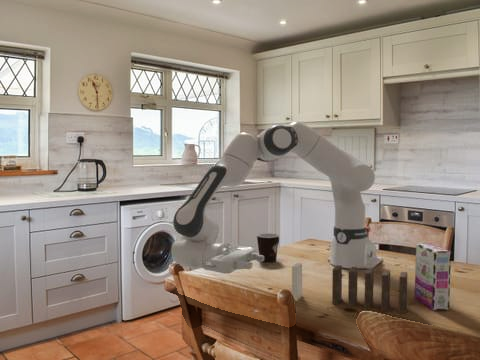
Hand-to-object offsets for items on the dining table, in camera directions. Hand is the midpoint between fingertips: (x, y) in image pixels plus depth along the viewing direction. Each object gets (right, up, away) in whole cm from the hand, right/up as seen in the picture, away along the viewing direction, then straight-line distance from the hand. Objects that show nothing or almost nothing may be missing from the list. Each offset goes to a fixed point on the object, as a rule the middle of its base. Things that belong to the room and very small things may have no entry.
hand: (257, 262), depth 139 cm
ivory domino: (+11, -10, -4) cm, 16 cm away
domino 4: (+35, -10, -13) cm, 39 cm away
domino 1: (+23, -10, -7) cm, 26 cm away
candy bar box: (+49, -10, -10) cm, 51 cm away
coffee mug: (+7, -7, +40) cm, 41 cm away
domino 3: (+31, -10, -11) cm, 34 cm away
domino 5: (+39, -10, -15) cm, 43 cm away
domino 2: (+27, -10, -9) cm, 30 cm away
